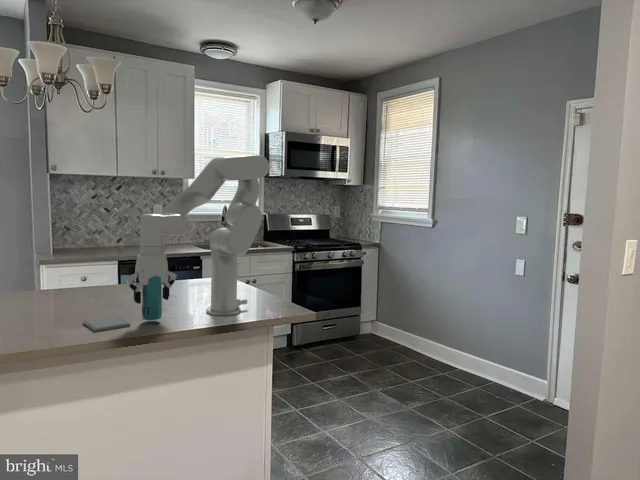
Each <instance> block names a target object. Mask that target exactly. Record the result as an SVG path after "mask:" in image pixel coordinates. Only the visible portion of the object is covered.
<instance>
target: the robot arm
mask: <svg viewBox="0 0 640 480" xmlns="http://www.w3.org/2000/svg"><path fill="white" fill-rule="evenodd" d="M269 170H270V162H269V161H268V159H267V158H266V157H265V156H263V155H260V154H249V155H246V154H245V155H237V156H236V155H235V156H234V155H233V156H232V155H231V156H229V155H227V156H216V157H214V158H213V159H211V160H210V161H208V163H207V165H206V166H205V167H204V168H203V169H202V170H201V172H199V174H198V176H197V177H196V178H195V179H194V180H193V181H192V183H191V184H190V185H189V186H188V187H186V188H185V189H183V191H182V192H180V193H179V194H178V195H176V196H175V197H174V198H173V199H172V200H170V202H169V203H168V204H167V205H166V206H165V208H164V209H163V210H162V212H161V213H144V214H142V215H141V216H140V234H139V235H140V249H139V251H140V252H139V253H140V254H137V256H136V262H135V266H134V267H135V268H134V273H133V274H131V275H129V276H127V277H126V278H125V282H126V284H127V285H128V287H129V288H130V289H131V290H132V291H133V301H134V303H136V304H138V305H139V304H142V291H140V290H142V287H143V286H146V285H148V280H149V278H151V277H153V276H158V277H161V284H162V286H163V287H162V300H163V299H164V300H166V301H168V300H169V299H170V289H171V288H172V286H173V285H174V283H175V281H176V279H177V277H178V275H177V274H176V273H174V272H172V271H170V270H169V265H168V259H167V254H165V252H166V251H167V252H168V250H169V248H168V246H165V236H171V237H172V236H173V237H180V236H185V235H186V234H187V233H188V232H189V231H190V227H191V223H190V220H189V218H188V217H187V215H188V214H189V213H190V212H191V211H193V210H194V209H196V208H199V207H201V206H203V205H205V204H207V203H209V202H210V201H211V200H212V199H213V197H214V196H215V195H216V193H217V192H218V191H219V190H220V188H221V187H222V186H223V185H224V184H225V182H226V181H229V182H230V181H237V183H238V184H237V188H236V191H235V194H234V196H233V198H232V200H231V202H230V204H229V206H228V208H227V210H226V211H225V221H226V223H227V224H228V225H230V226H231V227H232V228H231V227H230V228H229V227H220V228H216V229H215V230H214V231H213V232H212V233H211V234H210V238H209V248H210V249H209V250H210V255H211V276H210V278H211V281H210V283H211V285H210V306H208V307H206V313H207V314H208V315H212V316H221V317H222V316H234V315H237V314H239V313H241V307H240V306H242V305H248V299H247V298H245V299H241V298H237V297H238V296H237V295H238V270H239V269H238V266H239V264H238V257H242V256H244V255H245V254H247V252H248V251H249V250H250V248H251V246H252V244H253V242H254V239H255V238H256V235H257V233H258V232H259V230H260V227H261V224H262V223H263V222H262V221H263V214H262V210H261V209H260V207H259V206H258V205H256V204H257V202H258V199H259V196H260V195H261V194H260V193H261V186H260V182H259V179H263V178H264V177H265V176H266V175H268V173H269ZM169 276H170V279H169ZM133 281H134V283H135V284H133Z"/></svg>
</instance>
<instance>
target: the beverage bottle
mask: <svg viewBox="0 0 640 480" xmlns="http://www.w3.org/2000/svg"><path fill="white" fill-rule="evenodd" d="M162 286H163V284H161V277H158V276H153V277H151V278H149V280H148V285H146V286H143V287H142V288H141V316H142V317H141V318H142V319H143V320H144V321H157V320H160V319H161V318H162V317H163V308H162V307H163V305H162V301H163V295H162V289H163V287H162Z"/></svg>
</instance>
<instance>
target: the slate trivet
mask: <svg viewBox="0 0 640 480" xmlns="http://www.w3.org/2000/svg"><path fill="white" fill-rule="evenodd" d="M82 324H83V325H85V326H86V327H87V328H89V329H90V330H91V331H93V332H94V333H98V332H103V331H109V330H111V331H112V330H117V329H121V328H127V327H131V323H130V322H128V321H126V320H124V319H123V318H121V317H120V316H118V315H117V316H112V317H110V316H109V317H105V318H104V317H103V318H97V319H91V320H85V321H84V320H83V322H82Z"/></svg>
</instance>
